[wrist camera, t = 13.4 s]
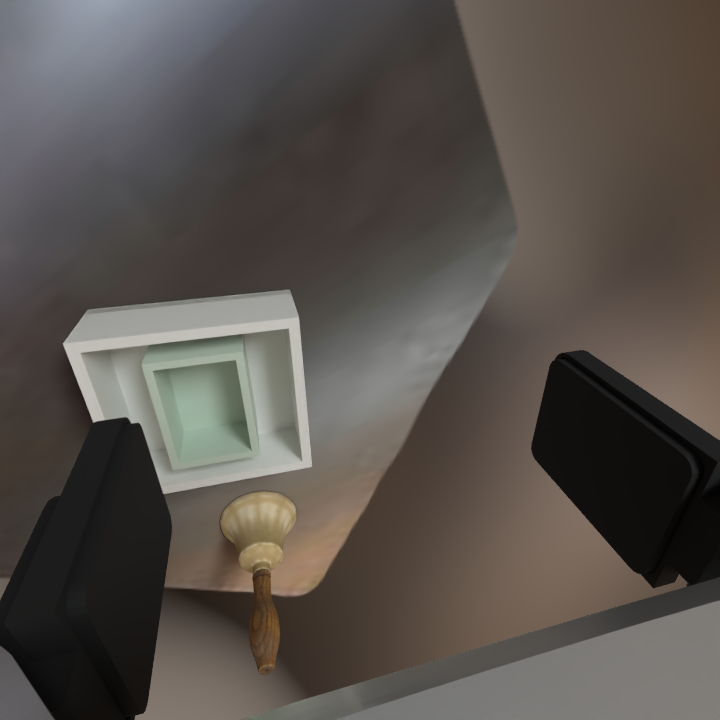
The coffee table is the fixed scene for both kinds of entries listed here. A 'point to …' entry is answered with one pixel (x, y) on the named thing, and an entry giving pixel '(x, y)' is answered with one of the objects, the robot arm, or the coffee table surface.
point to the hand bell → (260, 561)
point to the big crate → (188, 322)
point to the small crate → (203, 400)
